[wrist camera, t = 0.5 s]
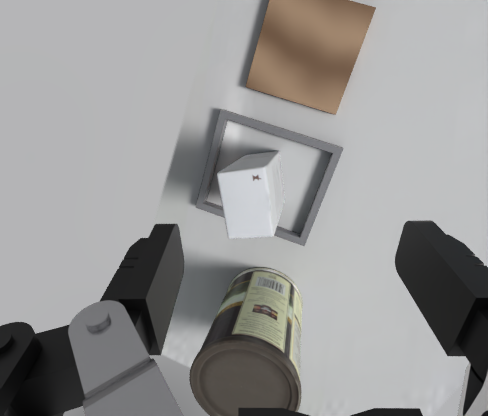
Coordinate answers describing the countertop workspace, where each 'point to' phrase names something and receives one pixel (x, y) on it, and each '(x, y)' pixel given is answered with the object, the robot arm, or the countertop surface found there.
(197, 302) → the countertop surface
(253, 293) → the coffee can
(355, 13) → the walnut board
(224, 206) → the skincare box
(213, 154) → the grey flat rectangular frame
